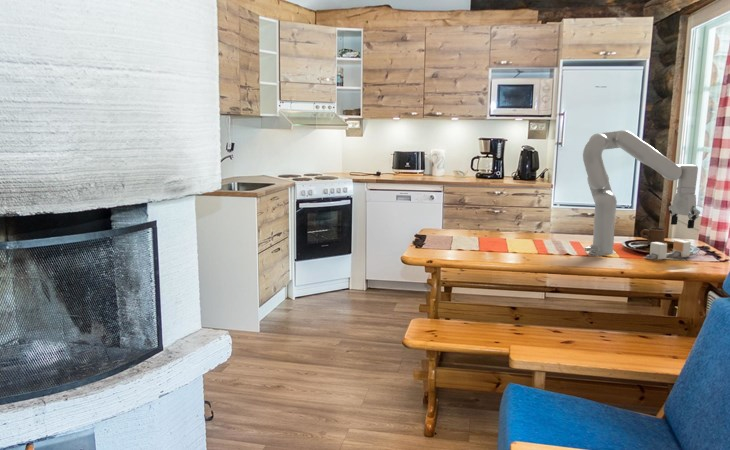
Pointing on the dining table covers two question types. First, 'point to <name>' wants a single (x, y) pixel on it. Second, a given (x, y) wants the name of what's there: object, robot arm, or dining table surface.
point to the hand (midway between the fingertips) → (682, 226)
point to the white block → (658, 249)
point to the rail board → (668, 256)
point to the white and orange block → (682, 247)
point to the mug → (654, 235)
